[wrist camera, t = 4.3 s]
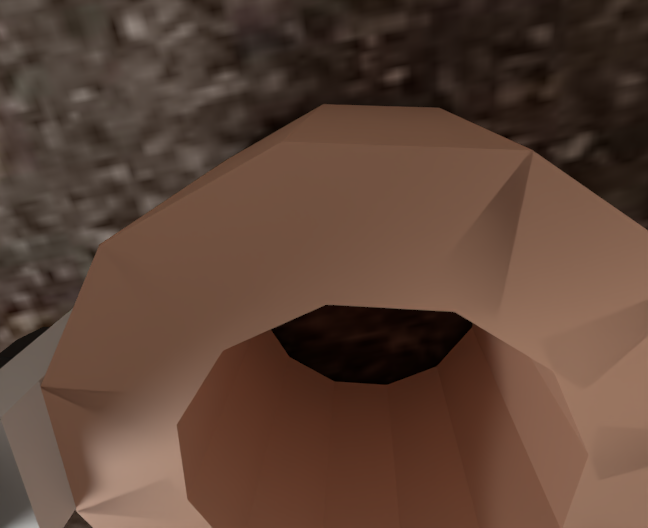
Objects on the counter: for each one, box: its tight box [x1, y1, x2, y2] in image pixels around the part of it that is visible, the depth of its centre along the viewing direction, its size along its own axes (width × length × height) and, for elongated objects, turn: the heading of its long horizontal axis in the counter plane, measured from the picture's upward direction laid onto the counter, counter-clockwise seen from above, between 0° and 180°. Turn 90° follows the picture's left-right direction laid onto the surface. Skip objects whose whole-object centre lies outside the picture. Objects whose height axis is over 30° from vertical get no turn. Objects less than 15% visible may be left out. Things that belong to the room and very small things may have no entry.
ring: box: [40, 104, 648, 528], centre depth 9 cm, size 10×10×6 cm
